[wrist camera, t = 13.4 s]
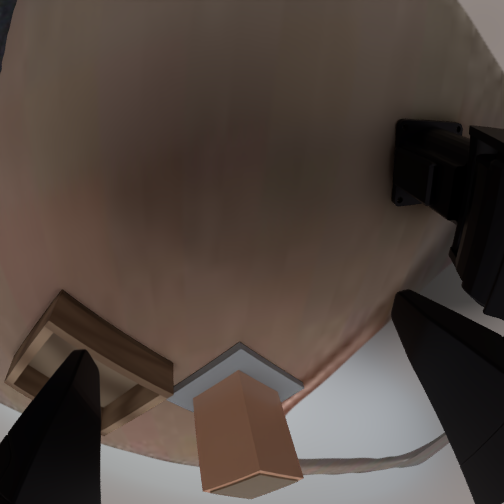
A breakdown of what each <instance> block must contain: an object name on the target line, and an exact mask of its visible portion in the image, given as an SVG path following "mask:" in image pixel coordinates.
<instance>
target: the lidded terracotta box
mask: <svg viewBox="0 0 504 504" xmlns="http://www.w3.org/2000/svg"><path fill="white" fill-rule="evenodd" d="M193 406H194V417H195V428H196V438H197V447H198V456H199V465H200V473H201V481H202V488H203V491H204V492H209V493H213V494H219V495H225V496H232V497H239V498H247V499H253V498H256V497H259V496H262V495H265V494H267V493H270V492H272V491H275V490H278V489H280V488H283V487H286V486H288V485H291V484H293V483H295V482H298V480H301V479H303V478H304V477H303V474H302V471H301V467H300V464H299V461H298V458H297V454H296V451H295V448H294V444H293V441H292V438H291V435H290V431H289V428H288V425H287V421H286V418H285V415H284V411H283V408H282V405H281V401H280V398H279V395H278V392H277V391H275V390H274V389H272V388H270V387H268V386H266V385H264V384H263V383H261V382H259V381H257V380H255V379H254V378H252V377H250V376H248V375H247V374H245V373H243V372H241V371H240V370H237V371H236V372H234V373H233V374H231V375H230V376H228V377H227V378H225V379H223V380H222V381H220V382H219V383H217V384H215V385H214V386H212V387H211V388H209V389H207V390H206V391H204V392H203V393H201V394H199V395H198V396H196V397H194V398H193Z"/></svg>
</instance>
